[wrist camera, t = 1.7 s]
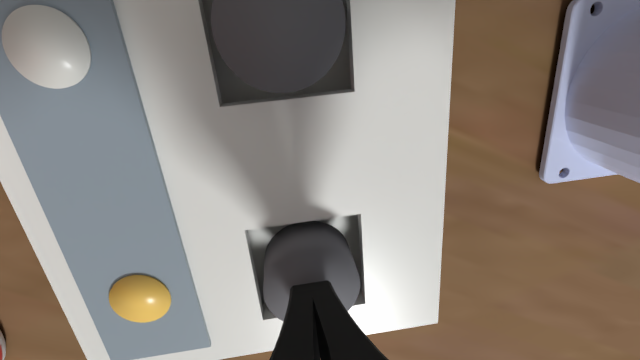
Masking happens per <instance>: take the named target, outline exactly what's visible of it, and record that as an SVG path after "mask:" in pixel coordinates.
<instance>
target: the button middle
mask: <svg viewBox="0 0 640 360" xmlns="http://www.w3.org/2000/svg"><path fill="white" fill-rule="evenodd" d="M345 24H346V19H345V10H344V6H343V2H342V0H213V2H212V9H211V26H212V33H213V37H214V40H215V43H216V46H217V49H218V51H219V53H220V55H221V57H222V58H223V60H224V61H225V63H226V64H227V66H228V67H229V68H230V69H231V70H232V71H233V73H234V74H236V75H237V76H238V77H239V78H240V79H241V80H243V81H244V82H246V83H247V84H249V85H251V86H253V87H255V88H257V89H260V90H263V91H267V92H271V93H291V92H296V91H299V90H302V89H305V88H307V87H309V86H311V85H313V84H314V83H316V82H317V81H319V80H320V79H321V78H322V77H324V76H325V75H326V73H327V72H328V71H329V70H330V69H331V67H332V66H333V65H334V63H335V62H336V60H337V58H338V56H339V54H340V51H341V48H342V45H343V41H344V37H345Z"/></svg>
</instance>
